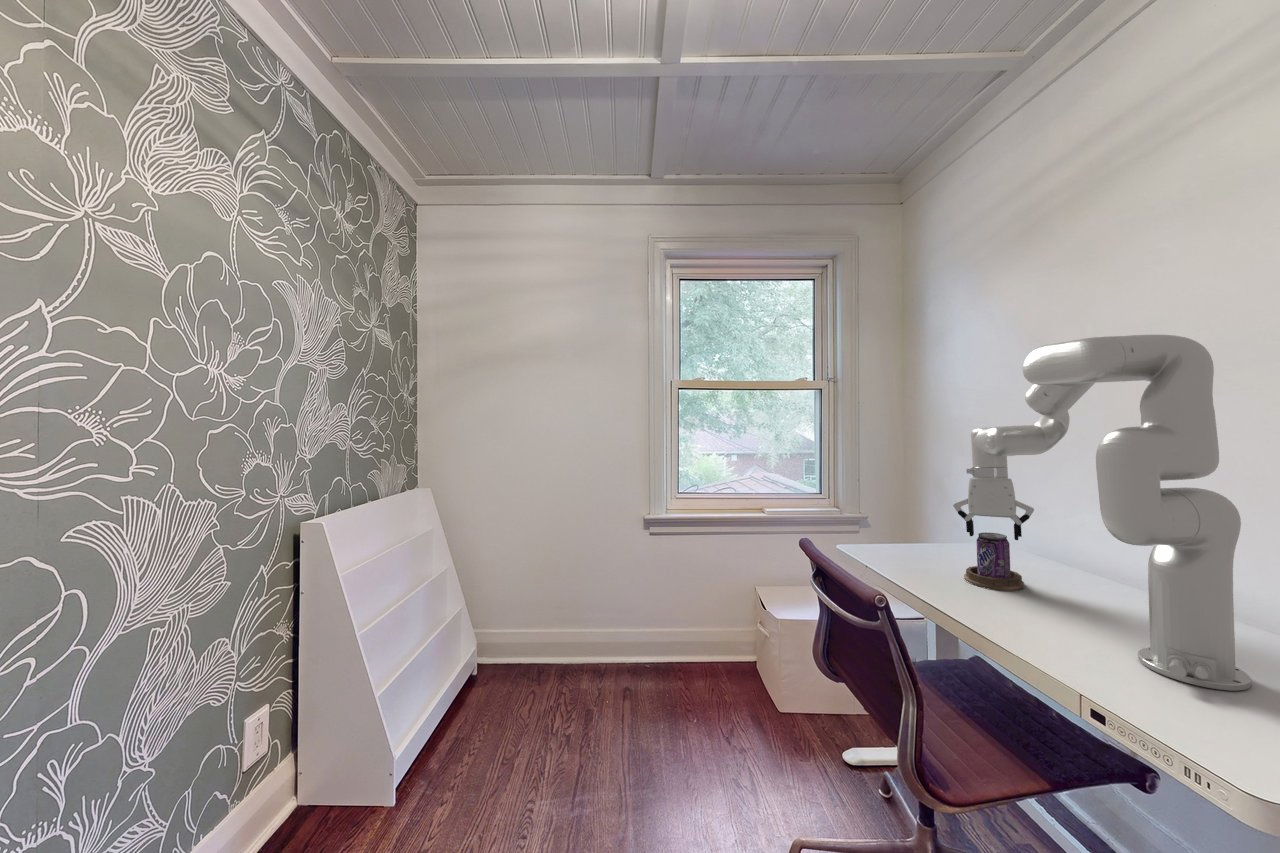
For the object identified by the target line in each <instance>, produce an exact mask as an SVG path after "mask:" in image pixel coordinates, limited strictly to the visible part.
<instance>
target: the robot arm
mask: <svg viewBox="0 0 1280 853" xmlns="http://www.w3.org/2000/svg"><path fill="white" fill-rule="evenodd" d="M1214 368H1215V367H1214V361H1213V358H1212V356H1211V354H1210V352H1209V350H1208V349H1207V348H1206V347H1205V346H1204V345H1203V344H1201V343H1200V342H1198V341H1196V340H1194V339H1191V338H1189V337H1185V336H1180V335H1171V334H1136V335H1135V334H1134V335H1132V334H1131V335H1116V336H1115V335H1114V336H1113V335H1111V336H1096V337H1095V336H1094V337H1086V338H1080V339H1074V340H1069V341H1062V342H1058V343H1050V344H1044V345H1041V346H1038V347H1036V348H1034V349H1033V350H1032V351H1030V353H1028V354H1027V356H1026V358H1025V359H1024V361H1023V364H1022V374H1023V377H1024V379H1026V381H1028V382H1029V383H1031V384H1032V385H1031V386H1030V387H1029V388H1028V389H1027V391H1026V392H1025V394H1024V399H1025V403H1026V404H1027V406H1029V408H1031V409H1032V410H1033V411H1035V412H1036V413H1037V414H1039V415H1041V416H1040V418H1039V419H1037V421H1036V422H1034V423H1033V424H1032V425H1031V424H1030V425H1026V424H1025V425H1006V426H1002V425H1001V426H994V427H978V428H974V429H972V431H971V433H970V438H971V440H970V442H971V458H972V459H971V461H972V466H971V467H970V468H966V474H968V475H972V477H971V478H969V481H968V491H967V492H968V493H967V497H968V498H965V499H963V500H960V501H958V502H955V503H953V505H952V506H953V508H954V509H955V511H956V512H957V514H958V515H959V516H960V517H961V518H962V519H963V520H964V521H965V528H966V533H968V534H969V537H974V535H975V530H974V528H975V527H974V520H973V518H974V517H975V516H978V517H991V518H993V517H994V518H1007V519H1008V518H1010V519H1011V521H1013V522H1014V523H1013V534H1014V535H1013V536H1014V537H1013V538H1014V540H1015V541H1019V538H1022V537H1023V536H1022V525H1023V524H1024V523H1026V522H1027V521H1028V520H1029V519H1030V517H1031V516H1032V514H1033V513H1034V512H1035V509H1034V507H1032V506H1031V505H1028V504H1025V503H1023V502H1020V501H1018V500H1017V499H1016V493H1015V487H1014V483H1013V480H1012V479H1011V478H1009V472H1008V468H1009V467H1008V457H1013V456H1014V457H1015V456H1035V455H1036V456H1037V455H1041V454H1044V453H1046V452H1048V451H1050V450H1051V449H1052V448H1053V447H1055V446H1056V445H1057V444H1058V443H1059V442H1060V441H1061V440H1062V439H1063V438H1064V437H1065V435H1067V433H1068V430H1069V426H1070V414H1069V410H1070V409H1071V408H1072V407H1073V406H1074V405H1075V404H1076V403H1077V402H1078V401H1079V400H1080V399H1081V398H1082V397H1084V395H1085V394H1086V393H1087V392H1088V391H1089V390H1090V389H1091V388H1092V387H1093V386H1094V385H1095V384H1096V383H1098V384H1099V383H1114V382H1115V383H1116V382H1137V381H1139V382H1140V381H1145V382H1146V381H1147V382H1150V383H1149V384H1148V385H1147V386H1146V388H1145V389H1144V391H1143V393H1142V395H1141V397H1140V401H1139V410H1140V411H1139V412H1140V426H1128V427H1121V428H1117V429H1114V430H1113V431H1111V432H1109V433H1108V434H1106V435H1105V436H1104V437H1103V438H1102V439H1101V440H1100V442H1099V444H1098V446H1097V449H1096V453H1095V468H1096V470H1095V471H1096V479H1097V489H1098V501H1099V510H1100V516H1101V519H1102V522H1103V525H1104V526H1105V528H1106V529H1107V531H1108V532H1109V534H1111V536H1113V537H1114V538H1115V539H1116V540H1118V541H1120V542H1122V543H1124V544H1128V545H1131V546H1140V547H1141V546H1142V547H1143V546H1144V547H1146V546H1147V547H1149V546H1151V547H1152V546H1153V548H1152V549H1151V551H1150V554H1149V557H1148V562H1147V584H1148V585H1147V588H1148V589H1147V590H1148V614H1149V616H1148V617H1149V623H1148V624H1149V647H1144V648H1141V649H1139V650H1138V652H1137V659H1138V661H1139V662H1140V663H1141V664H1142V665H1143V666H1145V667H1147V668H1148V669H1150V670H1151V671H1154V672H1155V673H1158V674H1160V675H1163V676H1165V677H1167V678H1170V679H1174V680H1176V681H1178V682H1181V683H1186V684H1190V685H1193V686H1198V687H1200V688H1201V687H1202V688H1207V689H1211V690H1212V689H1213V690H1218V691H1228V692H1229V691H1232V692H1234V691H1235V692H1236V691H1238V692H1239V691H1245V690H1248V689H1250V688H1251V687H1252V678H1251V677H1250V675H1249V674H1248V673H1246V672H1245V671H1243V670H1242V669H1240V668H1239V667H1237V666H1236V642H1235V641H1236V639H1235V611H1234V610H1235V607H1234V604H1235V603H1234V558H1235V551H1236V548H1237V547H1236V546H1237V544H1238V540H1239V537H1240V532H1241V526H1242V522H1241V520H1242V519H1241V515H1240V512H1239V510H1238V508H1237V507H1236V505H1235V504H1234V503H1233V502H1232V501H1231V500H1230V499H1228V498H1227V497H1225V496H1224V495H1223V494H1220V493H1218V492H1216V491H1213V490H1209V489H1206V488H1205V489H1204V488H1198V487H1163V488H1161V481H1163V482H1165V481H1167V482H1168V481H1181V480H1182V481H1183V480H1184V481H1185V480H1187V481H1188V480H1195V479H1202V478H1204V477H1207V476H1210V475H1211V474H1213V473H1214V472H1215V471H1217V468H1218V467H1219V463H1220V448H1219V440H1218V439H1219V438H1218V429H1217V422H1216V411H1215V406H1214V396H1213V393H1214V391H1213V389H1214V387H1213V386H1214V376H1215V375H1214V372H1215V370H1214ZM966 505H967V507H968V508H967V509H968V512H969V513H966V512H965V511H964V510H963V509H962V507H963V506H966ZM1017 507H1018V508H1019V509H1021V510H1024V511H1025V512H1024V514H1023V515H1021V516H1020V517H1019V516H1018V515H1017Z"/></svg>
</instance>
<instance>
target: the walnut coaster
mask: <svg viewBox="0 0 1280 853" xmlns="http://www.w3.org/2000/svg"><path fill="white" fill-rule="evenodd" d="M1010 574H1011V579H998V578H990V577H985V576H980V575H978V571H977V565H975V566H969V567H967V568H966V569H965V573H964V575H963V579H965V580H966V581H968V582H970V583H972V584H974V585H973V586H975V585H977V586H976V587H979V586H981V587H980V588H982V587H985V588H984V589H987V588H989V589H988V590H993V589H995V590H994V591H1001V590H1002V591H1003V592H1014V591H1015V592H1016V591H1021V590H1023V589H1025V581H1023V576H1022V575H1021V574H1020V573H1018V572H1016V571H1014V570H1011V569H1010ZM965 580H964V581H965ZM966 581H965V582H966ZM968 582H967V583H968ZM970 583H969V584H970ZM972 584H971V585H972ZM1002 591H1001V592H1002Z"/></svg>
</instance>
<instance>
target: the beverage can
mask: <svg viewBox="0 0 1280 853" xmlns="http://www.w3.org/2000/svg"><path fill="white" fill-rule="evenodd" d="M976 563H977V564H976V566H977V571H978V575H980V576H985V577H990V578H998V579H1011V574H1010V570H1011V551H1010V542H1009V540H1008V536H1007V535H1005V534H1002V533H997V532H979V533H978V537H977V539H976Z"/></svg>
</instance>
